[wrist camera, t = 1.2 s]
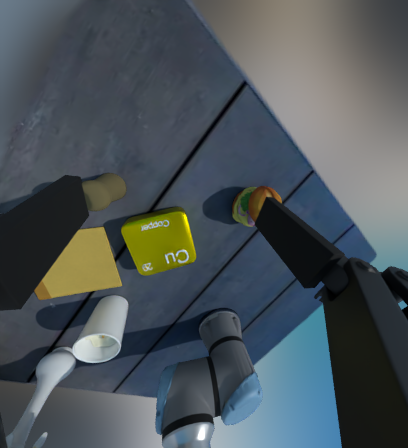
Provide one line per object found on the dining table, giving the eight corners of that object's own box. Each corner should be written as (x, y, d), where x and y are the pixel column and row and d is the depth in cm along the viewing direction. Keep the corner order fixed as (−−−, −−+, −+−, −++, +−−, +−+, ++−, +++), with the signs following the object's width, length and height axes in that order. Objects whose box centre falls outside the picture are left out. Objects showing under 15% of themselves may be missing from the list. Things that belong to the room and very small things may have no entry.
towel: (122, 284, 45) (121, 286, 45) (41, 298, 42) (39, 300, 42) (103, 226, 39) (103, 227, 38) (4, 237, 35) (2, 238, 35)
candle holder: (112, 322, 50) (96, 368, 39) (86, 305, 46) (60, 351, 35) (138, 305, 49) (129, 347, 38) (114, 287, 45) (97, 327, 34)
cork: (131, 183, 36) (117, 192, 26) (119, 205, 37) (101, 222, 27) (103, 167, 34) (76, 170, 24) (91, 191, 35) (61, 204, 25)
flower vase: (41, 329, 46) (-86, 498, 23) (101, 349, 53) (51, 492, 30) (15, 356, 47) (-127, 539, 25) (77, 372, 55) (12, 524, 32)
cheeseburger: (220, 204, 42) (243, 208, 33) (247, 177, 44) (276, 174, 35) (241, 230, 46) (266, 240, 37) (265, 204, 48) (294, 208, 39)
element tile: (183, 204, 40) (185, 210, 36) (195, 253, 47) (198, 263, 42) (122, 218, 39) (116, 226, 34) (143, 267, 45) (140, 279, 40)
